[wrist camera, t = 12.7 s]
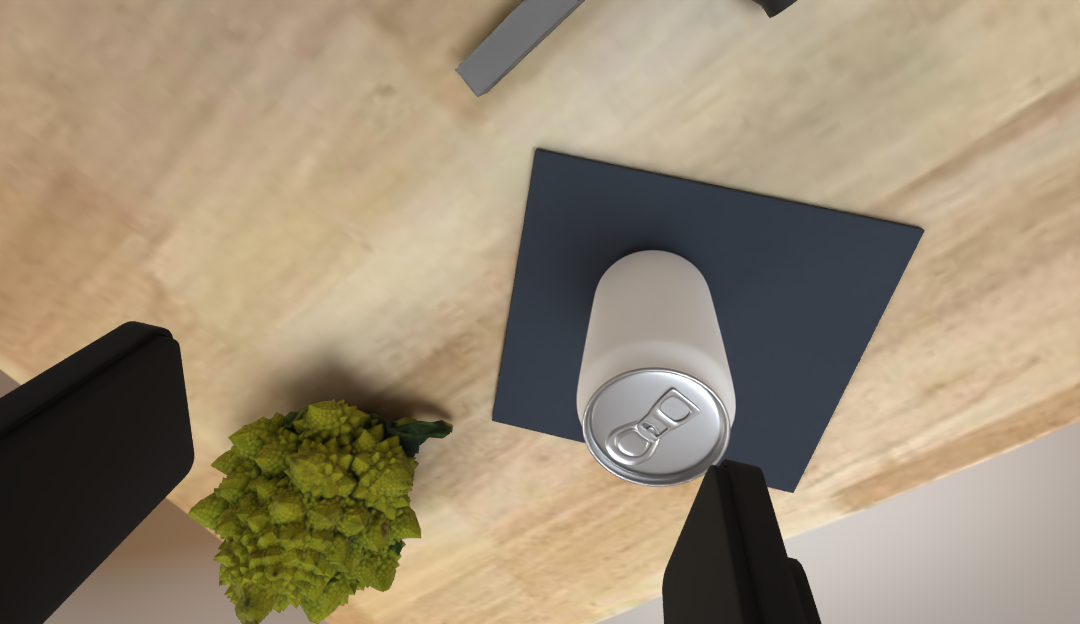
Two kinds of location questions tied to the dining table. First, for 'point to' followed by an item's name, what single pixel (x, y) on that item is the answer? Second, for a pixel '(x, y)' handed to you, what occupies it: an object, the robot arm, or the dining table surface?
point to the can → (655, 373)
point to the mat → (735, 286)
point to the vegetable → (314, 507)
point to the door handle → (532, 39)
